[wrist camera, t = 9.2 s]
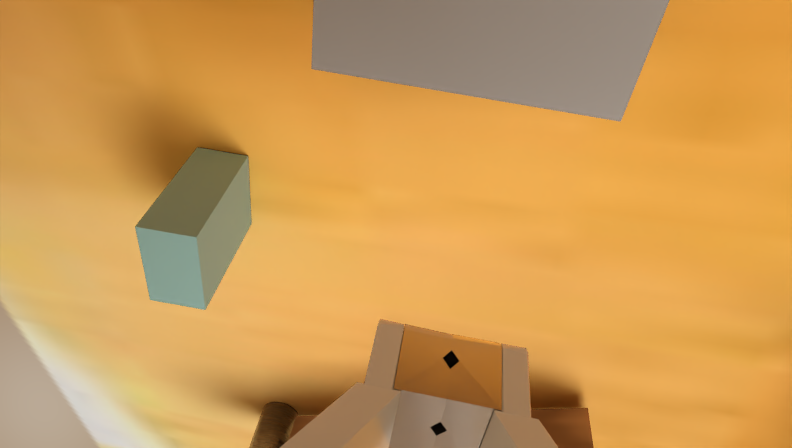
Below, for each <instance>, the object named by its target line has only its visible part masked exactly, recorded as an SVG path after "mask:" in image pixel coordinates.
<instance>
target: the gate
mask: <svg viewBox="0 0 792 448" xmlns="http://www.w3.org/2000/svg"><path fill="white" fill-rule="evenodd" d="M315 417H317V416H296V418H295V421H294V425H293V428H292V431H291V434H290V438H289V439H291V438H292V437H293V436H294V435H295V434H296V433H298V432H299V431H300V430H301V429H302V428H304V427H305V426H306V425H307V424H308V423H309V422H311V421H312V420H313V419H314V418H315ZM531 418H535V419H539V421H540V422H541V423H542V425H543V426H544V428H545V429H546V431H547V432H548V433H549V435H550V436H551V438H552V439H553V441H554V442H555V444H556V445H557V446H558V448H593V441H592V434H591V427H590V421H589V414H588V408H568V409H532V410H531Z"/></svg>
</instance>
